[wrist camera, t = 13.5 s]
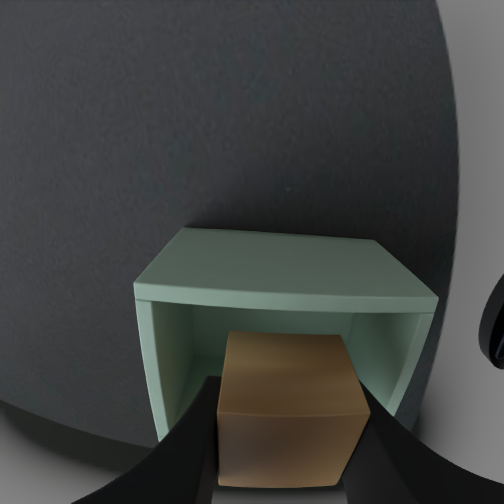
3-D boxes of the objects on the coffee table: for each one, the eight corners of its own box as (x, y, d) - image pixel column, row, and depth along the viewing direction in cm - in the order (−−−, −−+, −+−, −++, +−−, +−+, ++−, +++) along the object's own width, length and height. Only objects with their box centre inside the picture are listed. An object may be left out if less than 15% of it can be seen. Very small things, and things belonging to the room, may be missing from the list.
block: (340, 334, 11) (371, 412, 7) (321, 409, 12) (336, 485, 8) (228, 329, 11) (216, 412, 7) (227, 407, 12) (218, 485, 8)
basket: (182, 226, 16) (132, 282, 9) (374, 239, 16) (440, 297, 9) (187, 375, 19) (163, 461, 12) (342, 381, 19) (367, 465, 12)
